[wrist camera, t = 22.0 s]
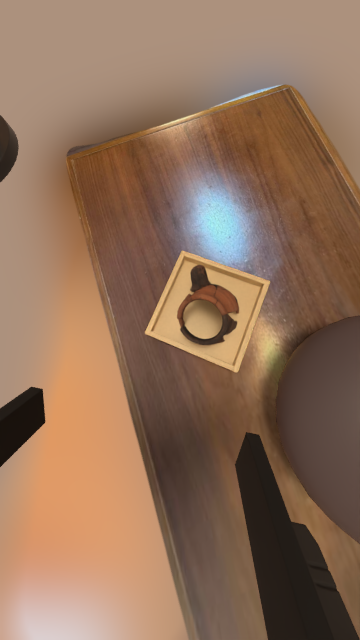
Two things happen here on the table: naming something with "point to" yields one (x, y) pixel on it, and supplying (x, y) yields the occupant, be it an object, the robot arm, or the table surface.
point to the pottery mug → (214, 295)
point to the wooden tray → (208, 311)
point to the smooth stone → (325, 420)
